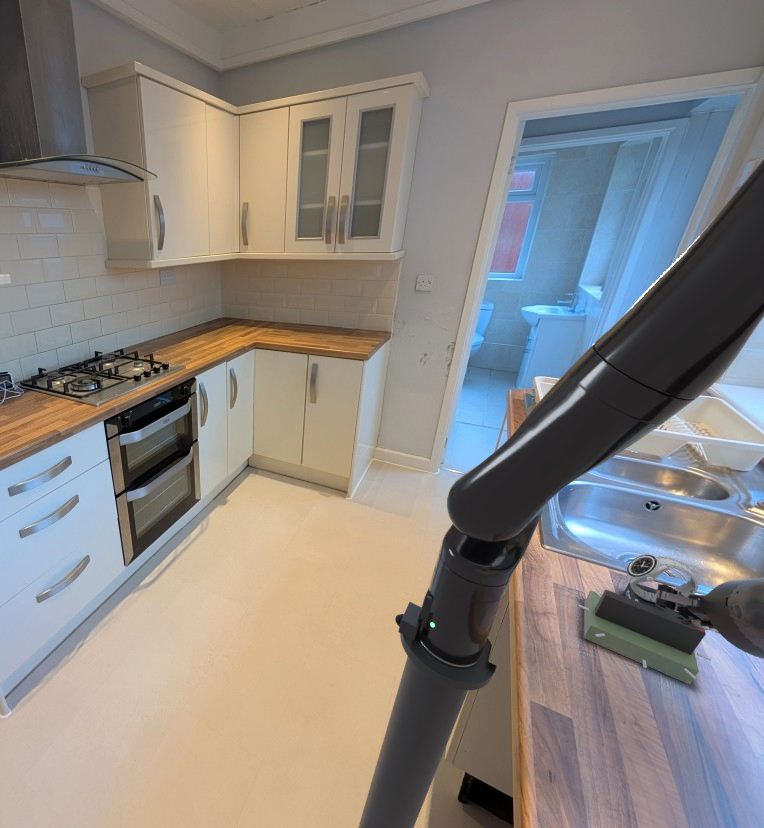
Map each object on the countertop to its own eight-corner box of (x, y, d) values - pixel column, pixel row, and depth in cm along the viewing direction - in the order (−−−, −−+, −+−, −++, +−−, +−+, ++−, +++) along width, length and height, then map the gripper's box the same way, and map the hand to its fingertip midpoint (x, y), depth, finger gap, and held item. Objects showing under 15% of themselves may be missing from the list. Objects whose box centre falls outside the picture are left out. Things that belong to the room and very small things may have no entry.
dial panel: (570, 651, 66) (577, 637, 65) (572, 590, 77) (579, 577, 76) (711, 715, 57) (723, 701, 56) (691, 637, 68) (701, 623, 67)
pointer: (594, 615, 68) (606, 594, 66) (594, 608, 70) (605, 587, 68) (691, 655, 62) (707, 633, 60) (689, 647, 63) (704, 625, 61)
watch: (608, 589, 77) (633, 542, 72) (668, 608, 73) (699, 560, 69) (615, 612, 73) (642, 563, 68) (679, 633, 69) (713, 583, 64)
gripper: (905, 612, 37) (769, 613, 52) (695, 553, 44) (626, 568, 58) (905, 701, 36) (764, 676, 50) (685, 625, 42) (617, 622, 57)
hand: (690, 618), depth 54 cm, fingers closed
